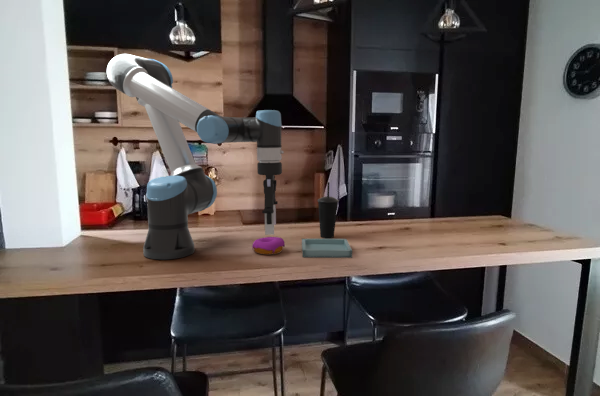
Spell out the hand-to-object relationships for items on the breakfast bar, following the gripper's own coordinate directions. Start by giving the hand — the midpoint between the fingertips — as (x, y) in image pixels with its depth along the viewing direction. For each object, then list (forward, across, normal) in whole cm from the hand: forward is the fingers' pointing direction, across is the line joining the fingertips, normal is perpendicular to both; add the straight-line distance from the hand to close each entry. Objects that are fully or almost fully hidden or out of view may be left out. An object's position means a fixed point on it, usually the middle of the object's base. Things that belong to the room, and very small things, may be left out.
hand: (270, 229), depth 132 cm
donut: (+8, 0, +1) cm, 8 cm away
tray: (+8, +1, -17) cm, 19 cm away
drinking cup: (+8, +19, -19) cm, 28 cm away
